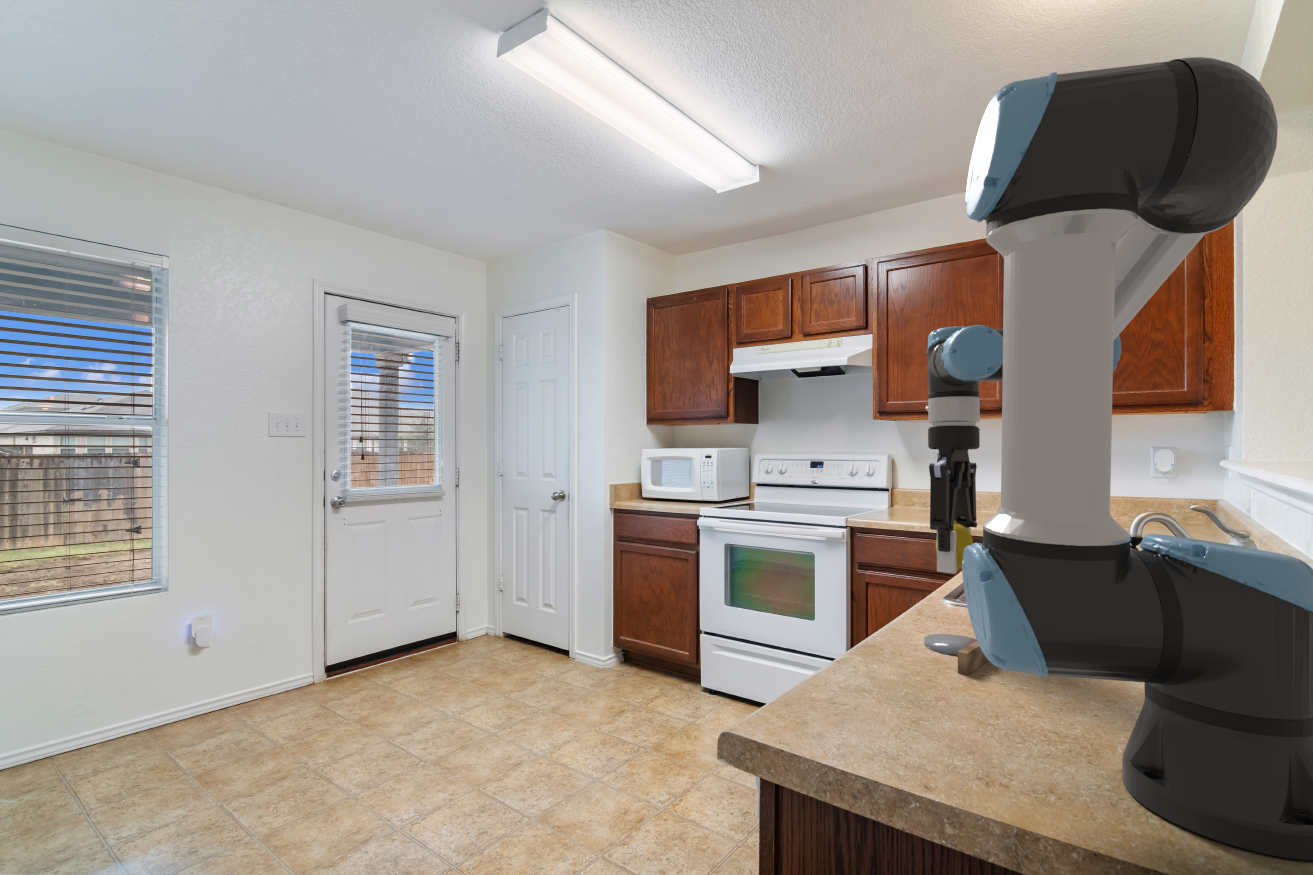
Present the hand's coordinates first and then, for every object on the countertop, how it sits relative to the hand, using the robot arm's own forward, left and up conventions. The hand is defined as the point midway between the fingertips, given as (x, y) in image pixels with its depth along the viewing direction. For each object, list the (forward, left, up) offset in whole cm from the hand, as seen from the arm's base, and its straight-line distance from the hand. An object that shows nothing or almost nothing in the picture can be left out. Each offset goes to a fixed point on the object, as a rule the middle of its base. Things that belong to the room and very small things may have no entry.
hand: (954, 569), depth 102 cm
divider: (-3, -6, -12) cm, 14 cm away
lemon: (0, 0, -1) cm, 1 cm away
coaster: (0, 0, -12) cm, 12 cm away
